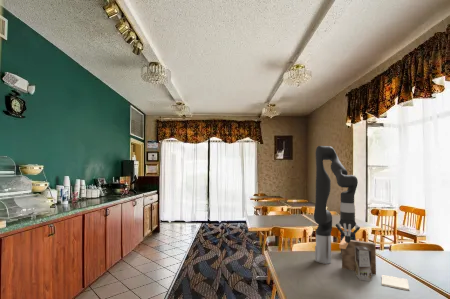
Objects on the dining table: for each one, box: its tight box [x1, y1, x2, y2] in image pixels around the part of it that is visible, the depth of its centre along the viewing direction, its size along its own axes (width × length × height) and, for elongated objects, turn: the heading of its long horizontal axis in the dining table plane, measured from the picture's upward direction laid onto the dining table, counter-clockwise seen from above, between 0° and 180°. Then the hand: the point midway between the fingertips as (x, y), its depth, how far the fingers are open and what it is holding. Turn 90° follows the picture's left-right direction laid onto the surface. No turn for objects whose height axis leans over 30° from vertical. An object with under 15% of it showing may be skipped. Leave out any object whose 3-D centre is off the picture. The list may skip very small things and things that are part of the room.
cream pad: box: [381, 274, 410, 291], centre depth 145 cm, size 12×14×1 cm
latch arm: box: [338, 236, 348, 250], centre depth 157 cm, size 3×24×2 cm, turn 150°
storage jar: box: [340, 230, 357, 255], centre depth 193 cm, size 10×10×15 cm
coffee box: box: [354, 246, 373, 282], centre depth 152 cm, size 9×6×16 cm
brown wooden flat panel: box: [341, 240, 377, 276], centre depth 162 cm, size 18×3×17 cm, turn 60°
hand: (347, 242), depth 150 cm, fingers closed
